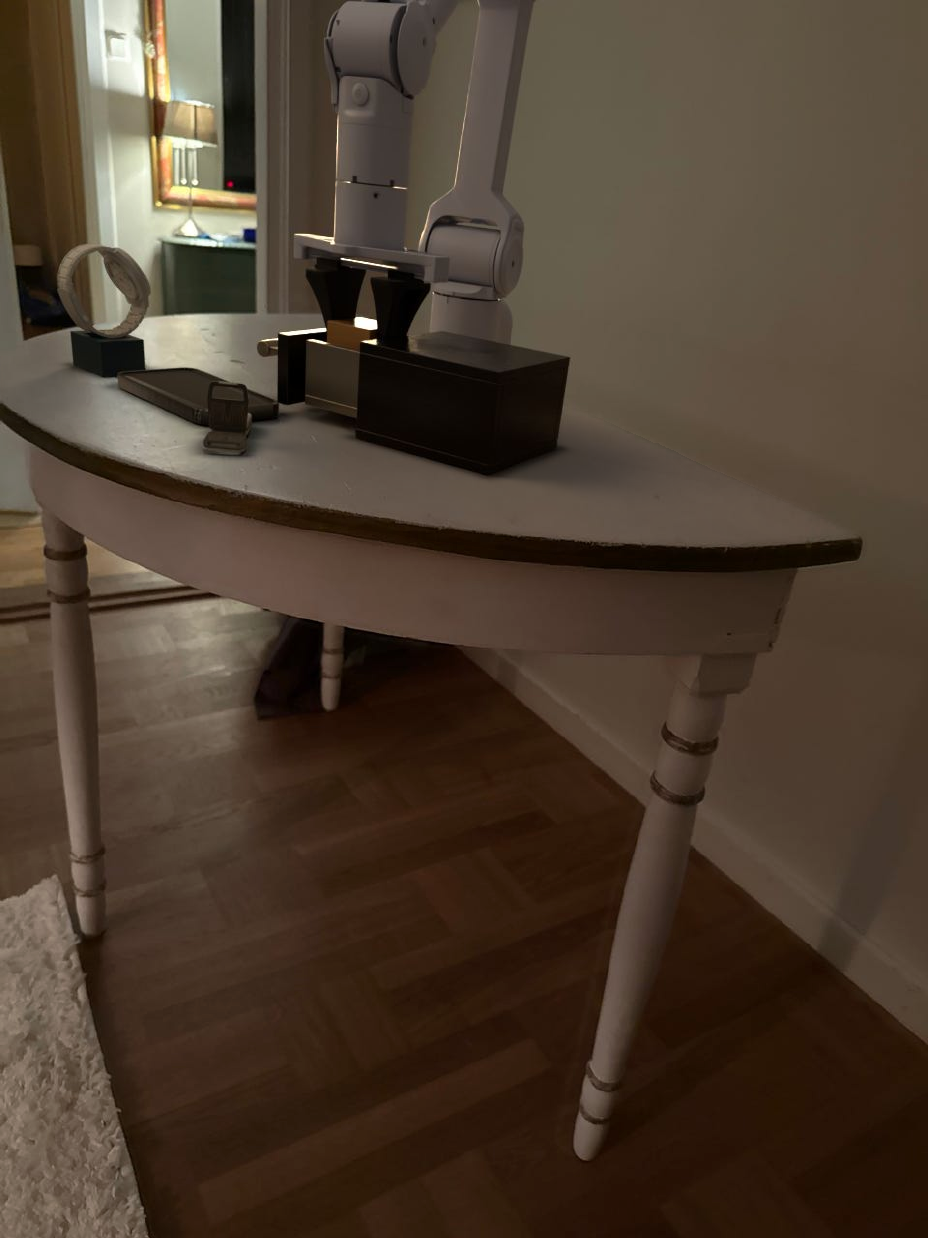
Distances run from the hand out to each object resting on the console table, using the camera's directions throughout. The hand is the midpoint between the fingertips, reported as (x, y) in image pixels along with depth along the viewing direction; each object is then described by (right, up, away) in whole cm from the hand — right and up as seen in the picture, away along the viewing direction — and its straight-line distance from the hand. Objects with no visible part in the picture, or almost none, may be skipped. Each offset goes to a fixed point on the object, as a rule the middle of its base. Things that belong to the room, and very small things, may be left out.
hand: (363, 360), depth 75 cm
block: (0, -1, +1) cm, 1 cm away
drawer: (-2, -3, +2) cm, 4 cm away
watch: (-25, +2, +9) cm, 27 cm away
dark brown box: (+8, -8, -2) cm, 11 cm away
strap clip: (-9, -8, -8) cm, 15 cm away
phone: (-15, -3, +1) cm, 15 cm away
